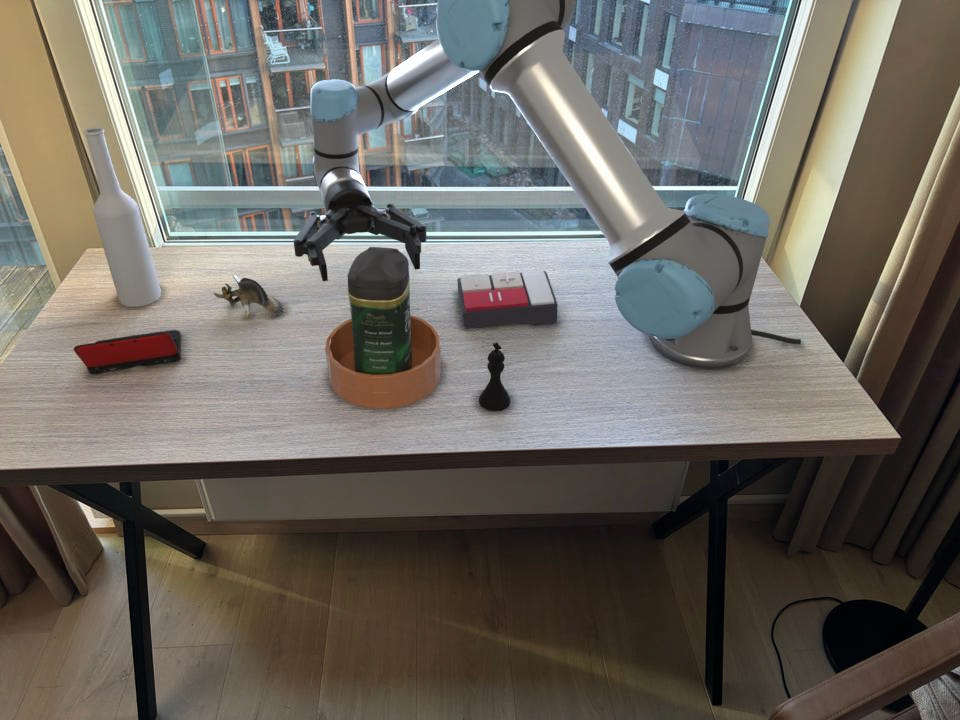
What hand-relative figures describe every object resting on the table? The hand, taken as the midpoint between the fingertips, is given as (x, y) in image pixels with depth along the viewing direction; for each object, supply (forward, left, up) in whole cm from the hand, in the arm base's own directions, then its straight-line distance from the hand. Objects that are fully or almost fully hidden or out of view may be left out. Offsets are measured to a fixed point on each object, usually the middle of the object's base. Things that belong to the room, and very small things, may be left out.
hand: (371, 267), depth 112 cm
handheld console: (+32, +15, -13) cm, 37 cm away
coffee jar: (-4, +8, -12) cm, 15 cm away
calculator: (-17, -14, -13) cm, 25 cm away
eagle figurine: (+22, -2, -13) cm, 25 cm away
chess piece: (-21, +10, -13) cm, 27 cm away
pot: (-4, +8, -12) cm, 15 cm away
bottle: (+42, -1, -13) cm, 44 cm away
